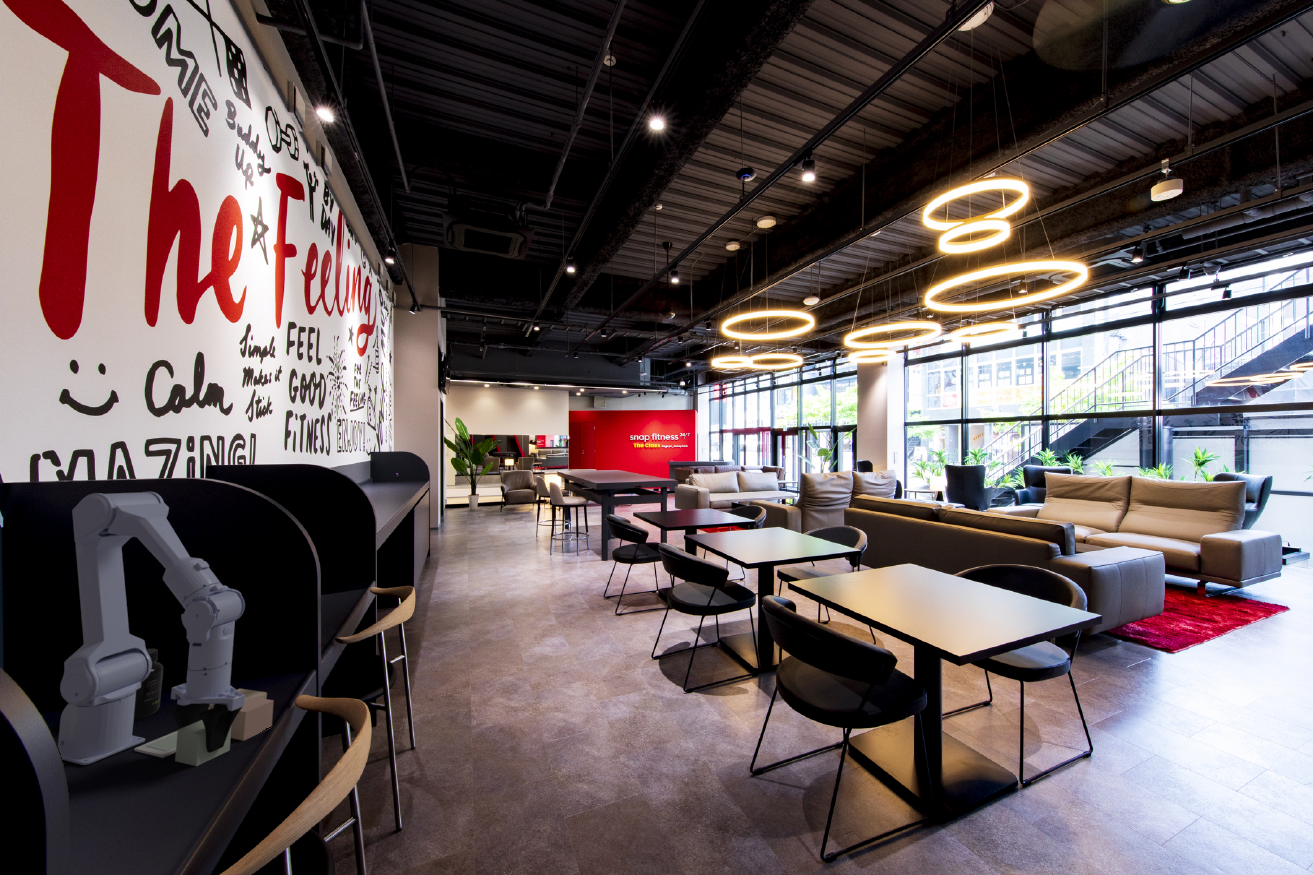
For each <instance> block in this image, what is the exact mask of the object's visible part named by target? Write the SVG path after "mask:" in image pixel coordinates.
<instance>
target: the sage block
mask: <svg viewBox="0 0 1313 875" xmlns="http://www.w3.org/2000/svg"><path fill="white" fill-rule="evenodd" d="M231 727H232V725H231ZM231 727H230V730H229V732H228V735H227V738H226V741H225V743H224V746H223V747H222V748H220V749H218V750H216V751H214V752H211V753H209V752H207V748H206V732H205V727H204V724H203V721H202V720H201V721H198V722H196V723H193V724H191V725H188V726H186V727H184V728H181V729H179V728H178V729H177V731H178V733H177V745H176V752H175V756H174V758H175V759H174V761H175V762H178V763H180V764H181V763H183V764H185V765H190V766H194V767H198V766H200V765H202V764H204V763H206V762H208V761H210V760H213V759H215V758H217V757H219V756H220V755H223V754H225V753H227V752H229V751H230V750H231V739H232V738H231Z"/></svg>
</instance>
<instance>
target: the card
mask: <svg viewBox="0 0 1313 875" xmlns="http://www.w3.org/2000/svg"><path fill="white" fill-rule="evenodd" d="M177 733H178V730H176V731H173V732H171V733H168V734H167V735H163V736H161V737H159V738H155V739H154V740H150V741H149V742H146V743H145V744H142V745H140V746H136V747H134V752H136V753H137V752H138V753H142V754H145V755H151V756H153V757H154V756H155V757H158V758H161V759H163V758H165V757H168V756H170V755H172V754H175V753H176V745H177Z"/></svg>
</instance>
